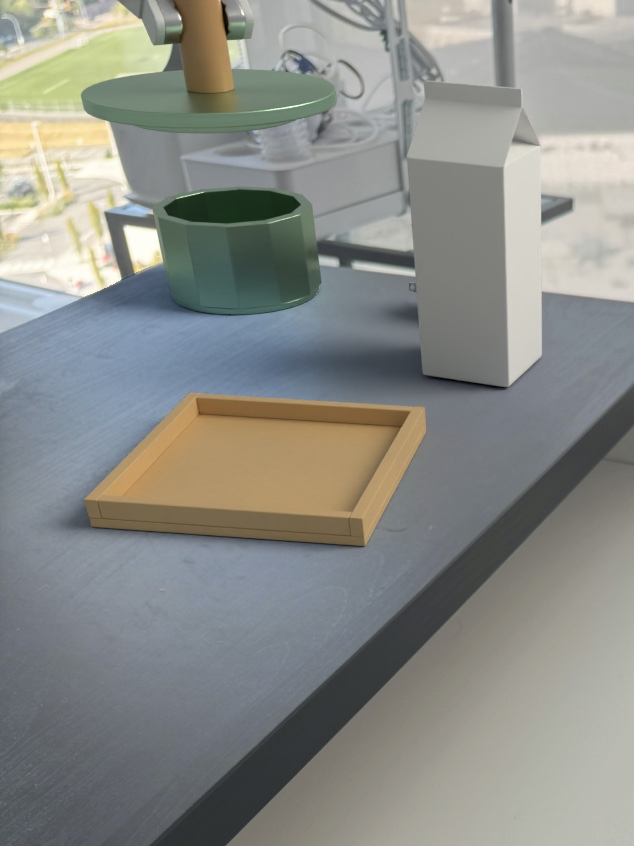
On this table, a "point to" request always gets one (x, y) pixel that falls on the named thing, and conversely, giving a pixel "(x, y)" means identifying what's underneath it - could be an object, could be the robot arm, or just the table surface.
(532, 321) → the milk carton
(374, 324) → the table surface
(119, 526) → the tray
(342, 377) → the table surface
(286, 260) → the tin
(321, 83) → the lid
